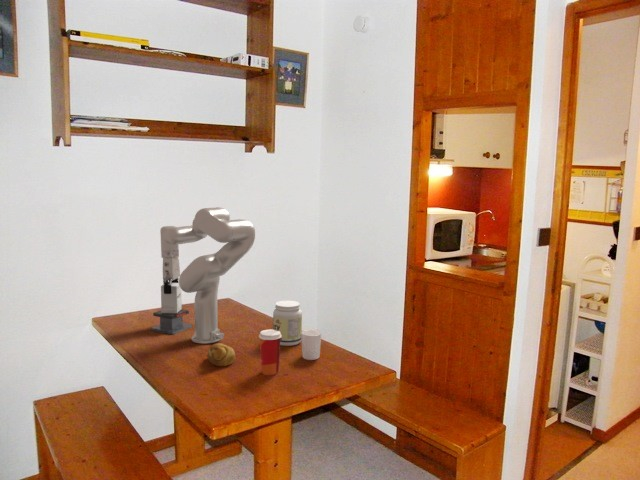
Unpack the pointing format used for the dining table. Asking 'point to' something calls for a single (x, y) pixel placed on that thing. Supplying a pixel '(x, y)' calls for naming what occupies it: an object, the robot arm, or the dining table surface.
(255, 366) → the dining table surface
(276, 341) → the coffee cup
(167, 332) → the jack stand
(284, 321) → the supplement tub
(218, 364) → the bread roll
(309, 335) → the white cup
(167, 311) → the supplement box
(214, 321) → the robot arm
